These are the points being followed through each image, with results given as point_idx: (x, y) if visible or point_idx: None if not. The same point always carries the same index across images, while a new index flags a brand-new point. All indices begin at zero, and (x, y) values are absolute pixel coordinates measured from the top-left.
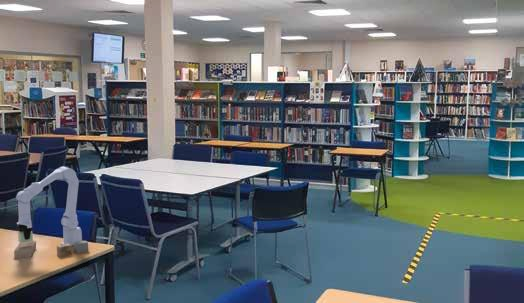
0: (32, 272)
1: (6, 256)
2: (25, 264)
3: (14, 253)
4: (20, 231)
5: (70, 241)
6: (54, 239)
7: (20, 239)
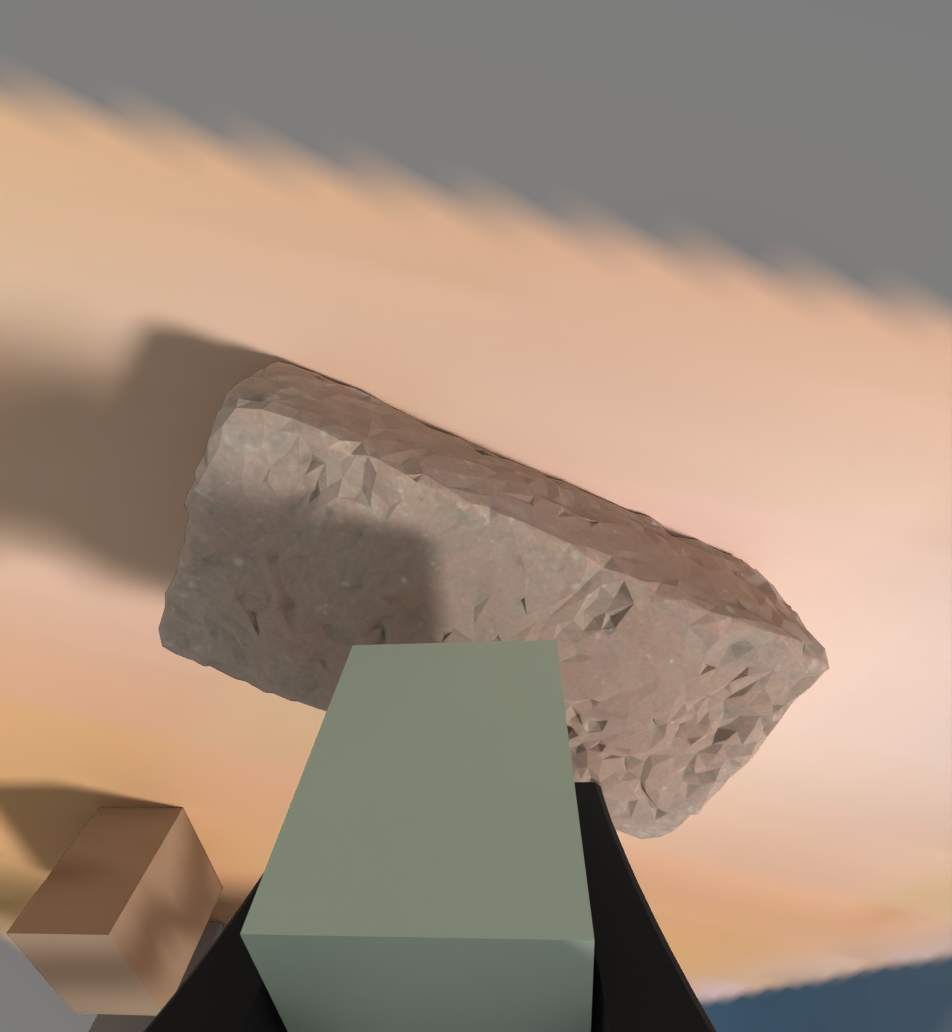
0: None
1: (473, 252)
2: None
3: (244, 386)
4: (647, 1010)
5: None
6: (819, 937)
7: (368, 714)
